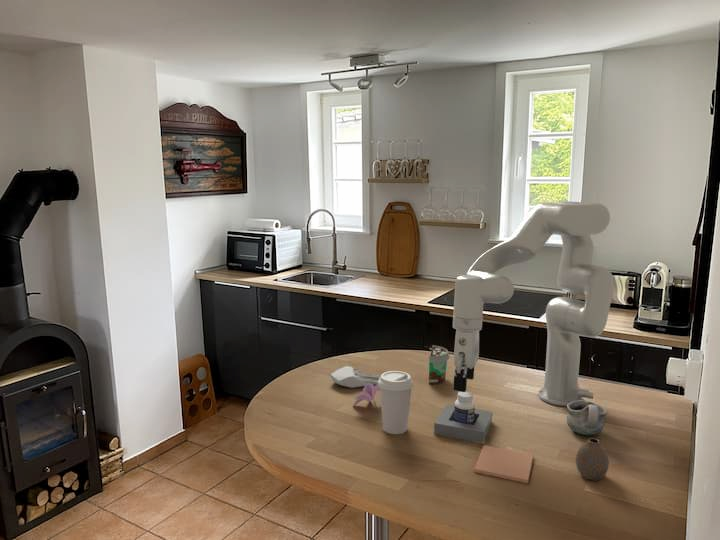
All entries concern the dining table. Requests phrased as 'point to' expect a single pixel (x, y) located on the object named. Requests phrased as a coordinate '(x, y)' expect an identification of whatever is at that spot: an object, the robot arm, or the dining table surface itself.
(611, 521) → the dining table surface
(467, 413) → the pill bottle
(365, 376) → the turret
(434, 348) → the food container
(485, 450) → the terracotta tile
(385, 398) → the coffee cup
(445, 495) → the dining table surface
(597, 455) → the vase
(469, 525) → the dining table surface
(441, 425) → the bottle holder
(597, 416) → the mug
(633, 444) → the dining table surface
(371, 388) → the lily
